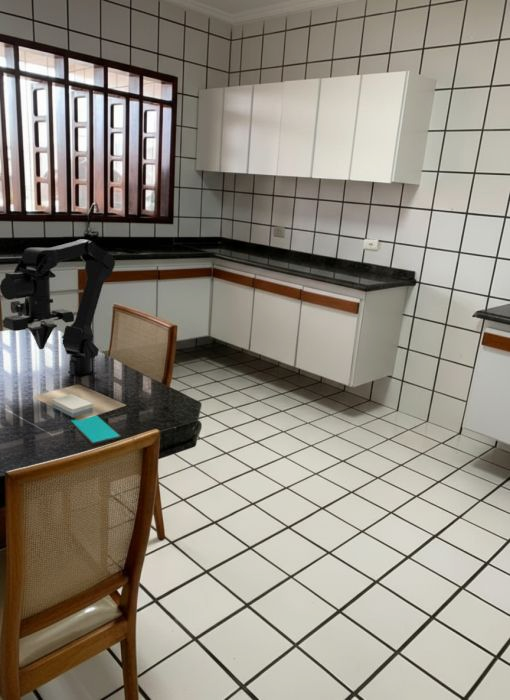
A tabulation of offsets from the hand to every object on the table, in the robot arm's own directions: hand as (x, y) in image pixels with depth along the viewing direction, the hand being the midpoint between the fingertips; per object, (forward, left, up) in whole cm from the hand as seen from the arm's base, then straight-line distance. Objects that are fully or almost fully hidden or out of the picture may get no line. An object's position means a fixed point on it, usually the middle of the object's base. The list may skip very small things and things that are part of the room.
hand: (41, 348), depth 152 cm
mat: (-1, +16, -12) cm, 20 cm away
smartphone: (+6, +33, -13) cm, 35 cm away
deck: (0, +19, -10) cm, 22 cm away
